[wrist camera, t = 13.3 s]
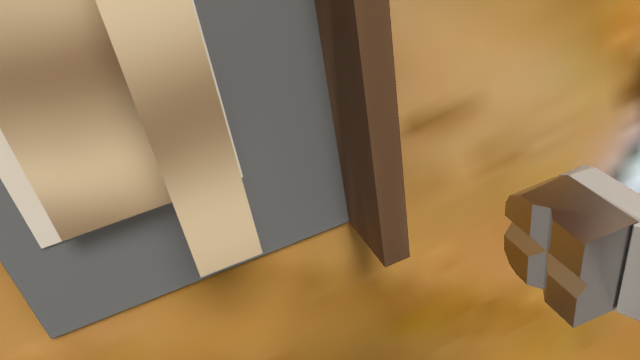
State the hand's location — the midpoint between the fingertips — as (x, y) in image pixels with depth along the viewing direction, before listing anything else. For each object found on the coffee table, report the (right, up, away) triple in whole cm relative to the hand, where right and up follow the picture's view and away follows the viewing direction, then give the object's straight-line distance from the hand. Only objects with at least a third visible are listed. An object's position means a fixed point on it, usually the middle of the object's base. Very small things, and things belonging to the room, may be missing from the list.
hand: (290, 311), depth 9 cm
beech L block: (-7, +6, +10) cm, 13 cm away
